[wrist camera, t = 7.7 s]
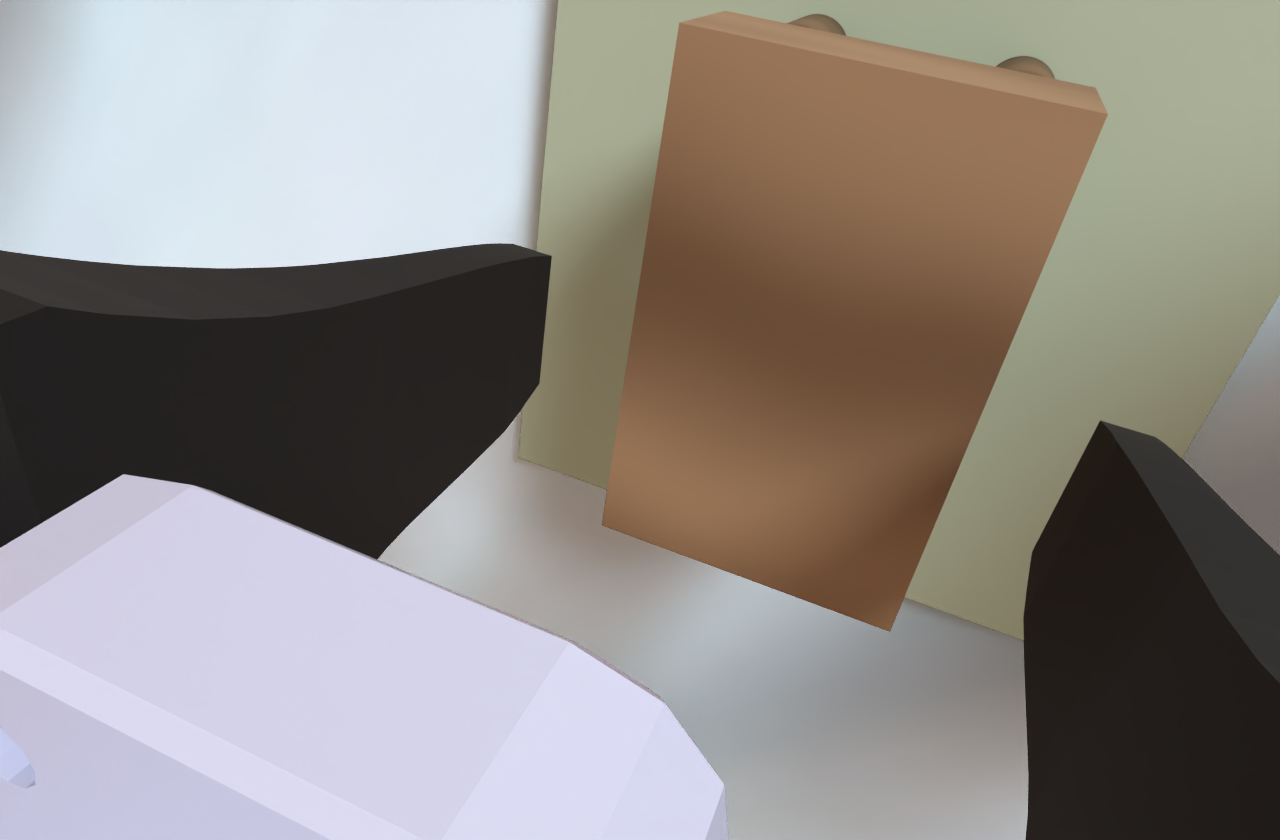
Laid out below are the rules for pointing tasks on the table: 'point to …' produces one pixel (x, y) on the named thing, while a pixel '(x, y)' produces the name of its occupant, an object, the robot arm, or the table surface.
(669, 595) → the table surface
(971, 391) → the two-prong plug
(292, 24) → the table surface
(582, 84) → the mat
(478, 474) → the table surface
